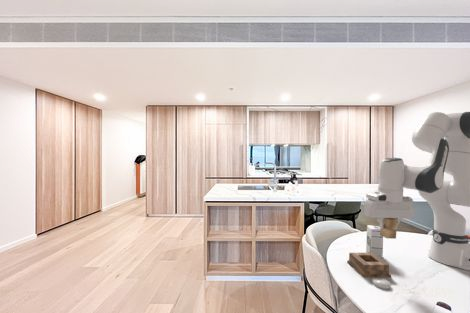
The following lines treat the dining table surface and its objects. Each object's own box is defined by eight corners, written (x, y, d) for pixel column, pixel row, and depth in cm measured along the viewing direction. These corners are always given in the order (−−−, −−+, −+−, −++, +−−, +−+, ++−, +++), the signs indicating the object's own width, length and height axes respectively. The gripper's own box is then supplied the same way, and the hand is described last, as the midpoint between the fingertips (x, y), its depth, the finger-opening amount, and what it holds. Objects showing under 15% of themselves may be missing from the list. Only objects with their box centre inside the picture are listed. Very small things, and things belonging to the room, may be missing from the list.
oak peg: (388, 234, 97) (389, 216, 96) (396, 238, 93) (397, 219, 92) (379, 234, 96) (381, 216, 96) (386, 238, 92) (388, 219, 92)
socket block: (371, 262, 105) (372, 252, 105) (391, 277, 93) (391, 265, 93) (347, 262, 104) (347, 252, 104) (363, 277, 92) (363, 265, 92)
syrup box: (383, 258, 109) (384, 229, 108) (369, 257, 110) (371, 228, 110) (378, 253, 114) (379, 225, 114) (365, 252, 116) (366, 224, 115)
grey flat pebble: (382, 280, 91) (382, 277, 91) (394, 289, 85) (394, 286, 85) (368, 281, 90) (368, 277, 90) (379, 290, 84) (379, 286, 84)
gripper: (406, 195, 98) (404, 226, 98) (362, 193, 97) (360, 225, 97) (419, 198, 92) (417, 231, 92) (372, 196, 90) (370, 230, 91)
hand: (388, 228), depth 94 cm, fingers closed on oak peg, 4 cm apart
